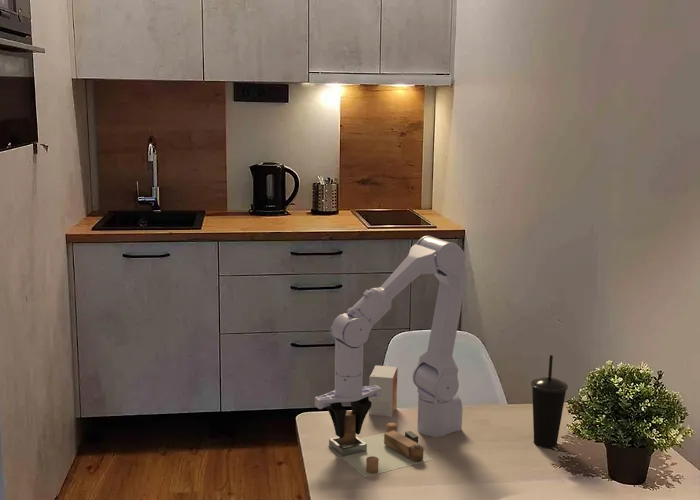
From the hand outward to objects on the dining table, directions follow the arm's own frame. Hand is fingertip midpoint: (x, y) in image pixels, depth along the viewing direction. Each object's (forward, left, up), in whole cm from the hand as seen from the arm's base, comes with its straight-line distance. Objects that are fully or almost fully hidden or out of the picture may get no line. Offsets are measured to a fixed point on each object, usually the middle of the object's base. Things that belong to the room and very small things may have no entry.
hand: (347, 434), depth 166 cm
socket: (0, 0, -3) cm, 3 cm away
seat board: (-5, +5, -4) cm, 8 cm away
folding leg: (-10, +7, -3) cm, 12 cm away
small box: (-18, -15, -5) cm, 23 cm away
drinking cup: (-41, +15, -5) cm, 44 cm away
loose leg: (0, 0, -2) cm, 2 cm away
